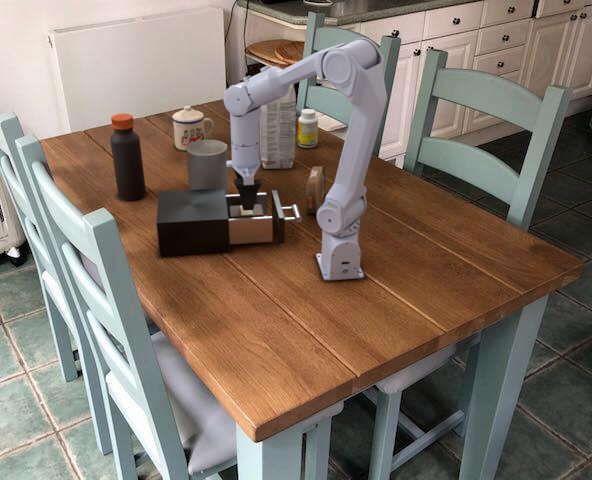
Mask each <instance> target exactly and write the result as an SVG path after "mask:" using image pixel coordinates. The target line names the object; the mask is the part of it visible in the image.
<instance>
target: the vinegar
mask: <svg viewBox="0 0 592 480" xmlns="http://www.w3.org/2000/svg"><path fill="white" fill-rule="evenodd" d="M110 121H111V127H112V130H113V134H112V135H111V136H110V139H109V143H110V148H111V155H112V162H113V163H112V164H113V168H114V176H115V181H116V182H115V183H116V189H117V194H118V197H119V198H120V199H121V200H124V201H136V200H140V199H142V198H144V197H145V196H146V194H147V188H146V181H145V172H144V171H145V170H144V165H143V164H144V163H143V157H142V147H141V141H140V140H141V139H140V135H139V134H138V133H137V132H135V131H134V128H135V124H134V117H133V115H132V114H130V113H117V114H114V115H112V116H111V117H110Z"/></svg>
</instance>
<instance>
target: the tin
mask: <svg viewBox="0 0 592 480" xmlns="http://www.w3.org/2000/svg"><path fill="white" fill-rule="evenodd" d="M325 191H326V171H325V166H324V165H322V166H321V165H314V166H312V168H311V170H310V172H309V176H308V178H307V182H306V188H305V199H306V212H307V213H308V214H316V215H317V211H318V209H319V208H320V207H321V206H322V205H323V203H324V200H325Z"/></svg>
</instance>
